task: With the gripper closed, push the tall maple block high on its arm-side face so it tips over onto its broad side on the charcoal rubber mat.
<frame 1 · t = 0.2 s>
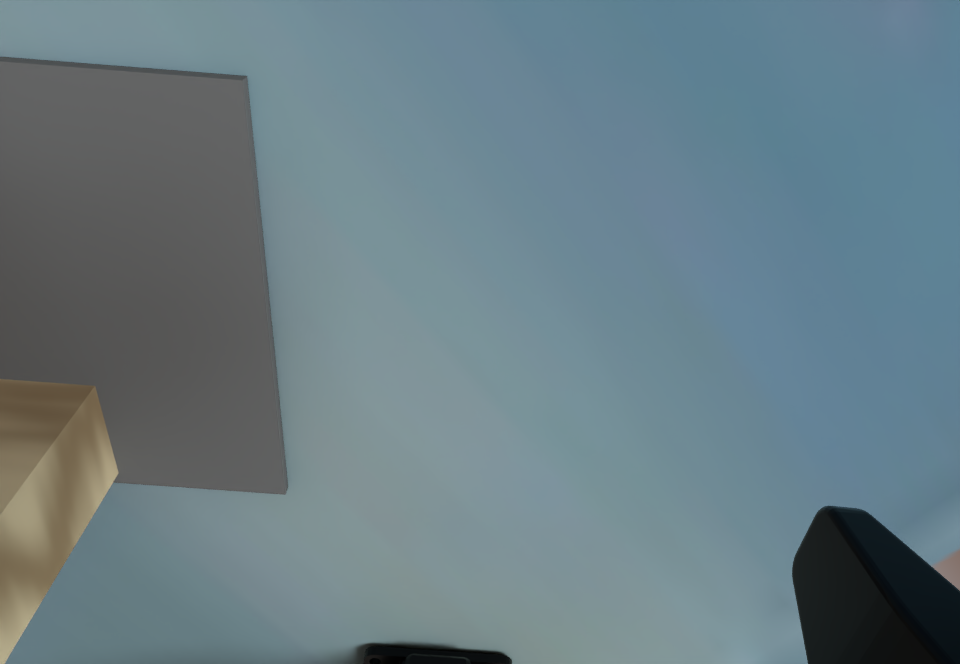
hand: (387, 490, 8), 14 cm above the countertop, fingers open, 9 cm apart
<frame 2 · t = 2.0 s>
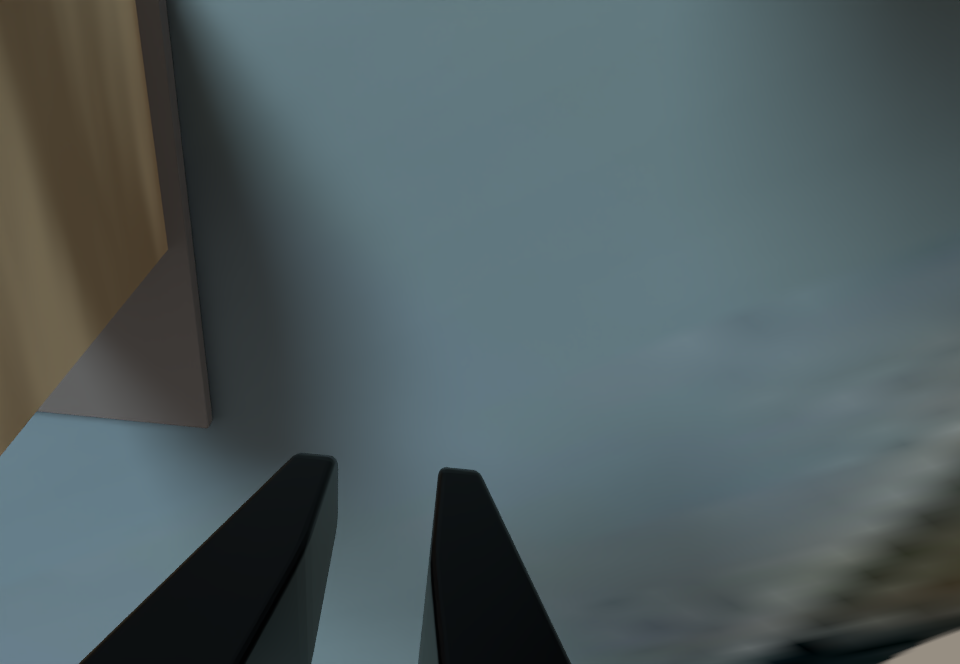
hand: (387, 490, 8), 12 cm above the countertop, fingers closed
maple block: (58, 83, 17), resting on mat
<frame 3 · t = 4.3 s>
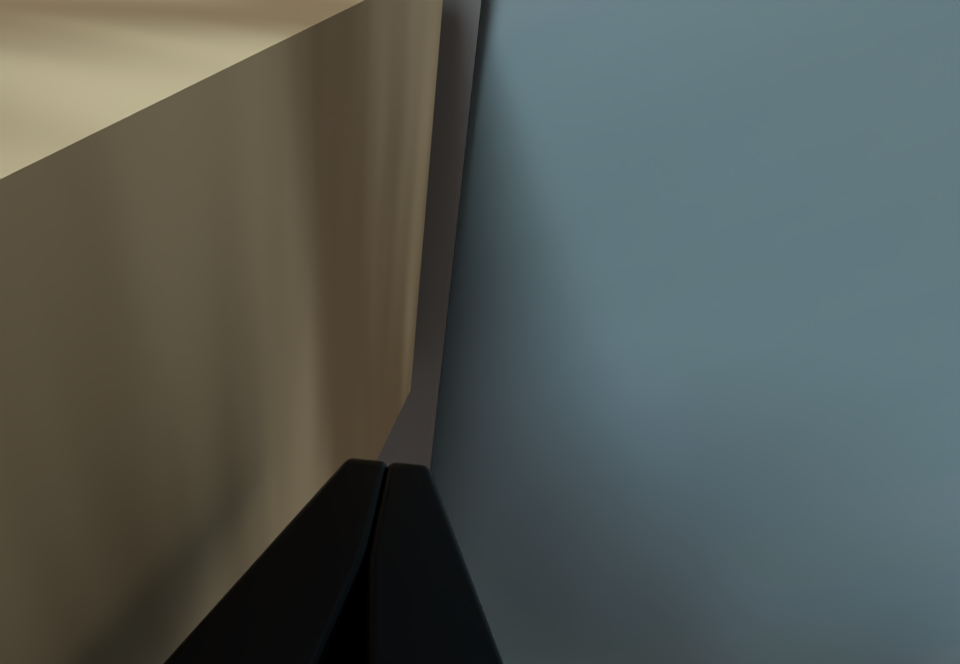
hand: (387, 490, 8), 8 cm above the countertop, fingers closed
mat: (54, 140, 14), on the countertop
maple block: (317, 189, 13), point 1 cm above the countertop, tilted 10°, touching mat
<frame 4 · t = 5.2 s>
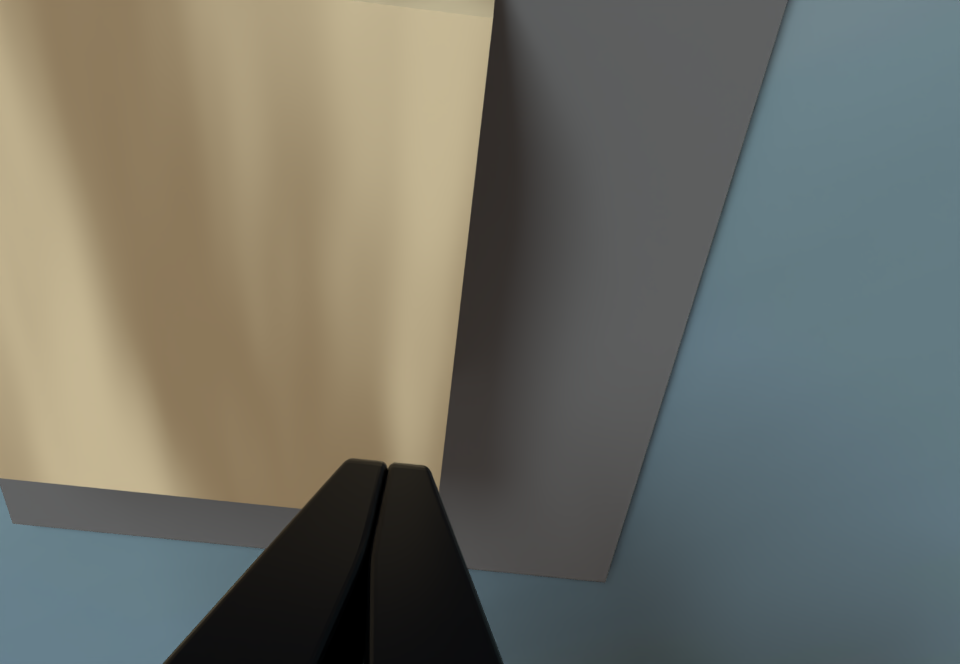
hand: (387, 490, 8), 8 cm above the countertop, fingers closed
mat: (312, 176, 14), on the countertop
maple block: (465, 255, 12), point 2 cm above the countertop, tilted 90°, touching mat
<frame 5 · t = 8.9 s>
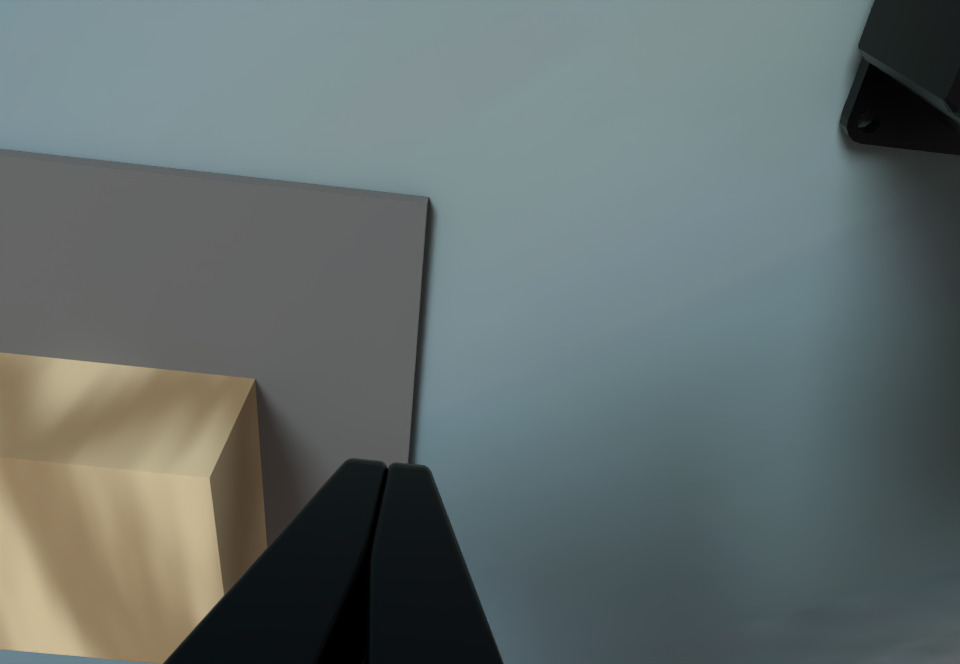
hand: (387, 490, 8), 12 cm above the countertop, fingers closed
mat: (172, 461, 24), on the countertop
maple block: (243, 527, 22), point 2 cm above the countertop, tilted 90°, touching mat
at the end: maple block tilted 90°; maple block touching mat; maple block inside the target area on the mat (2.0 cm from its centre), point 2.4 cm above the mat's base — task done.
